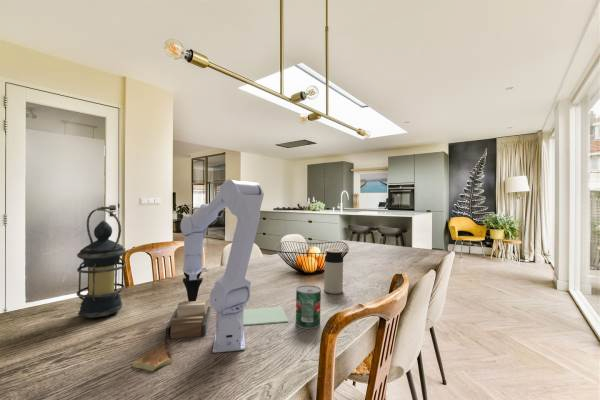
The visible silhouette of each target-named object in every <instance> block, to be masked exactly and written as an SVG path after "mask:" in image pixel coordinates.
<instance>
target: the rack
mask: <svg viewBox="0 0 600 400" xmlns="http://www.w3.org/2000/svg"><path fill="white" fill-rule="evenodd" d="M211 308H212V306H207V308H206V316H205V320H204V323H203V333H202V337H205V336H206V335H207V332H208V327H209V322H210V318H211ZM172 318H177V308H176V309H175V310H174V313H173V314H172V316H171V318H170V319H169V321H168V322H167V324H166V326H165V329H164V330H165V331H164V332H165V335H164V339H165V340H169V338H171V322H172Z"/></svg>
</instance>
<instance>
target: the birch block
mask: <svg viewBox="0 0 600 400" xmlns="http://www.w3.org/2000/svg"><path fill="white" fill-rule="evenodd" d="M176 306H177V307H176V309H177V318H182V317H197V316H203V323H204V320H205V316H206V312H207V299H196V301H191V302H189V301H188V300H180V301H179V302H178V304H177V305H176Z"/></svg>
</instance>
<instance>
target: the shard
mask: <svg viewBox="0 0 600 400" xmlns="http://www.w3.org/2000/svg"><path fill="white" fill-rule="evenodd" d="M167 342H168V341H167V339H165V340H164V341H162V342H160V344H159V345H156V346H155V347H153V348H151V349H150V350H148V351H147V352H145V353H144V354H142V355H141V356H139V357H138V358H137V359H135V360H134V361H133V362H132V367H133V368H137V369H144V370H146V371H150V372H154V371H156V370H157V369H159V368H161V367H162V366H163V367H164V366H165V365H169V364H171V363H172V362H173V358H172V357H173V356H172V354H171V350H170V347H169V345H168V343H167Z"/></svg>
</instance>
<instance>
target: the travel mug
mask: <svg viewBox="0 0 600 400" xmlns="http://www.w3.org/2000/svg"><path fill="white" fill-rule="evenodd" d="M343 251H344V250H343V249H341V248H340V249H339V248H326V249H325V253H326V254H325V256H324V282H323V283H324V285H323V291H324V292H325V293H328V294H331V295H338V294H341V293H342V292H343V288H344V287H343V282H344V279H343V278H344V256H343Z"/></svg>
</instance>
